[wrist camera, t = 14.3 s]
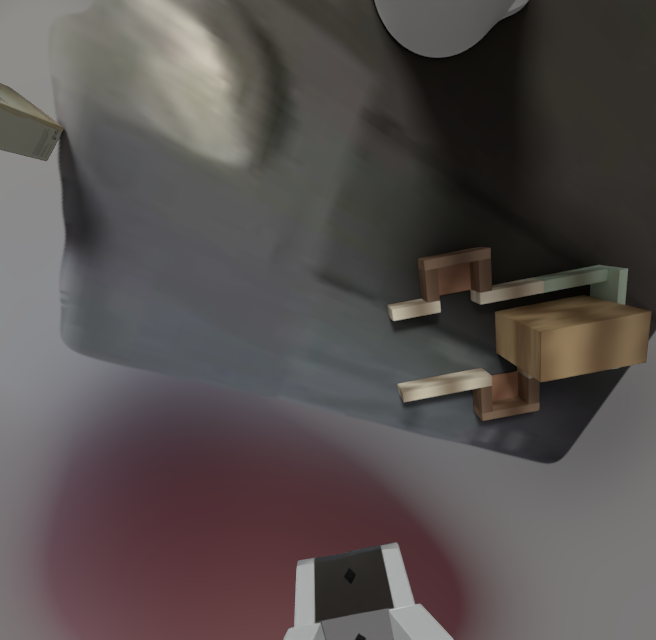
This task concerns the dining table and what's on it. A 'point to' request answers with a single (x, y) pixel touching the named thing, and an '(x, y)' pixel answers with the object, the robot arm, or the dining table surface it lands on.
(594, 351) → the block
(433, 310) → the lane
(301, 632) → the robot arm
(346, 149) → the dining table surface
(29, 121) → the skincare box
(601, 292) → the end wall
